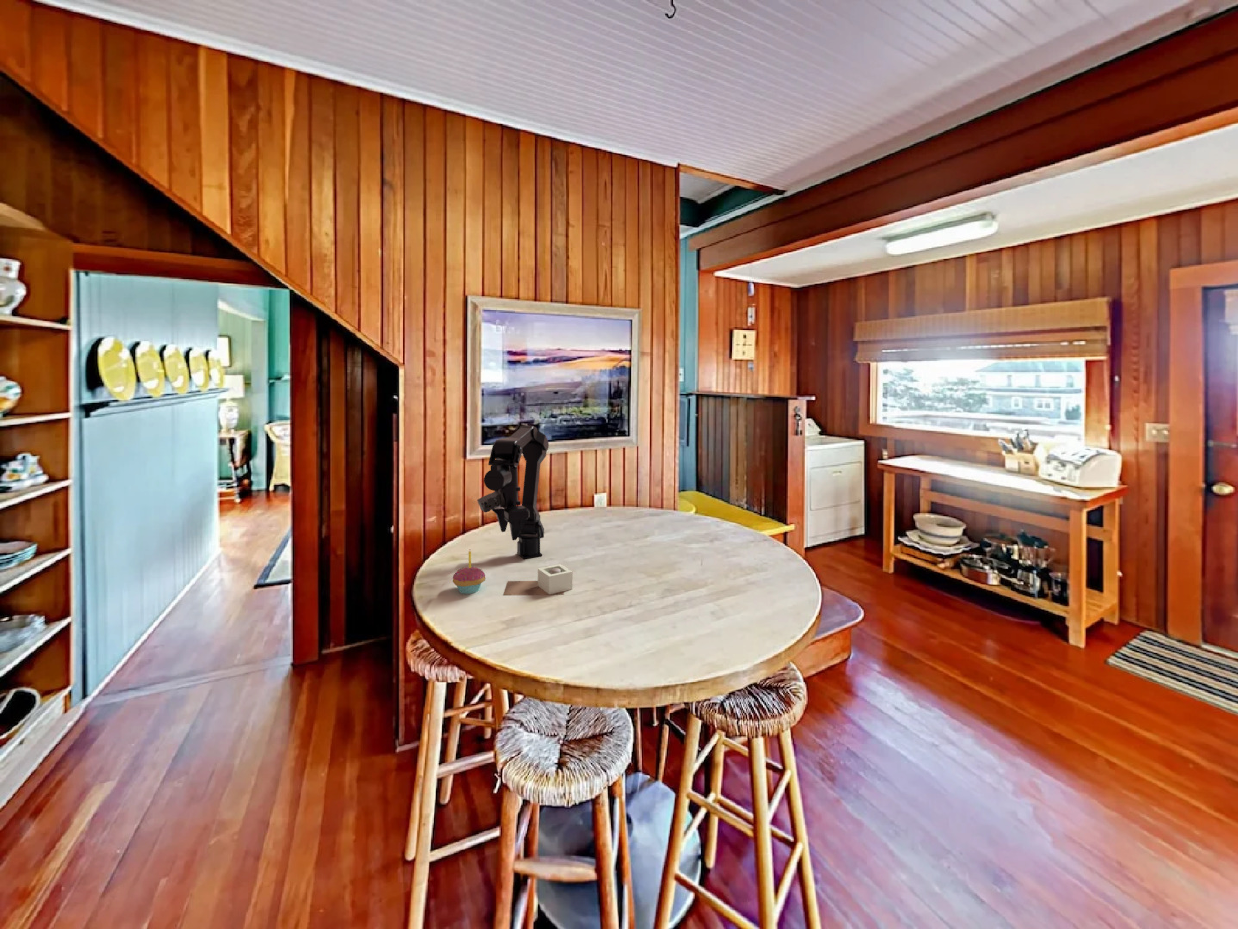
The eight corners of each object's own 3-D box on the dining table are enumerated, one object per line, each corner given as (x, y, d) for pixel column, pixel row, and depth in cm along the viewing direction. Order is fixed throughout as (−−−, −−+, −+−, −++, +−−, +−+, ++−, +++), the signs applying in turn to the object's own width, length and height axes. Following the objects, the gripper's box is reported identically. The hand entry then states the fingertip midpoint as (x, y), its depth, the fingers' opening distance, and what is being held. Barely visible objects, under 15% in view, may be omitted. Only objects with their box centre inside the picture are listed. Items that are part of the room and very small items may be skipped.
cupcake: (456, 587, 156) (455, 546, 154) (488, 587, 156) (486, 545, 154) (450, 600, 147) (448, 556, 145) (483, 599, 148) (482, 555, 146)
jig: (565, 583, 159) (565, 563, 158) (563, 598, 150) (563, 576, 149) (507, 584, 158) (507, 564, 157) (502, 598, 148) (502, 577, 147)
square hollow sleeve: (560, 580, 159) (560, 564, 158) (572, 589, 153) (572, 571, 152) (537, 585, 155) (537, 568, 154) (549, 594, 149) (549, 576, 149)
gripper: (470, 480, 165) (471, 531, 167) (490, 492, 149) (492, 549, 152) (506, 476, 170) (507, 526, 173) (530, 488, 155) (530, 543, 157)
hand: (508, 535), depth 164 cm, fingers open, 9 cm apart
